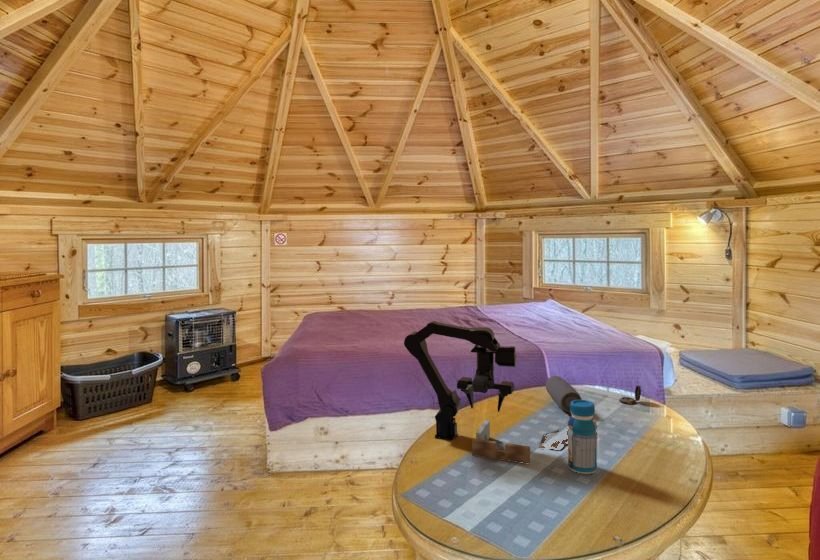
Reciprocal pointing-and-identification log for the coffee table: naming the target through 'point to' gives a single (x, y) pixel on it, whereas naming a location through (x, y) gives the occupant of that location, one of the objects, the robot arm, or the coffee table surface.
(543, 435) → the wooden fragment
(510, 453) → the stepped wooden block
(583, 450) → the beverage bottle
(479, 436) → the tapered grey plank
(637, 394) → the compass
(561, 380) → the bluetooth speaker
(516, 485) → the coffee table surface
